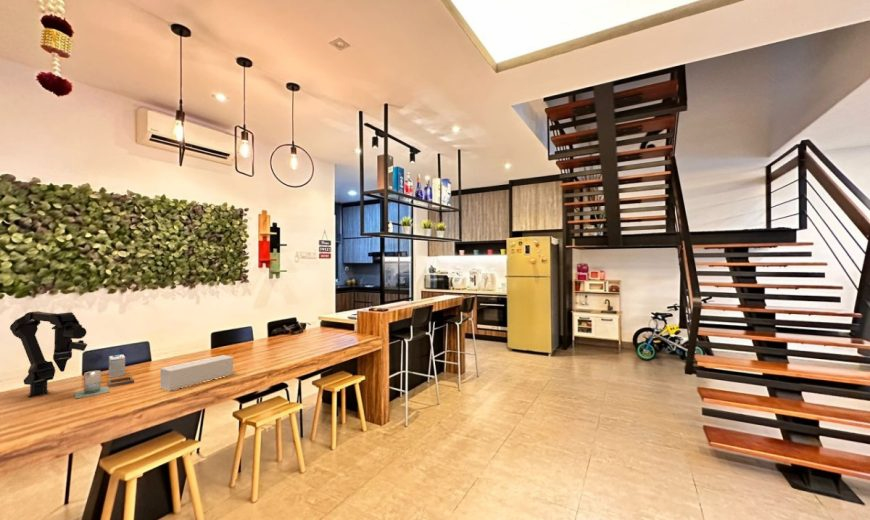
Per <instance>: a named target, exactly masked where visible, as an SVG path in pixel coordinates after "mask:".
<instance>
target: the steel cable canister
mask: <svg viewBox="0 0 870 520" xmlns="http://www.w3.org/2000/svg"><path fill="white" fill-rule="evenodd" d="M101 378H102V371H101V370H89V371H87V372H84V374H83V391H84V394H91V393H96V392H99V391H100V388H101V386H102V385H101V382H102V381H101V380H102V379H101Z"/></svg>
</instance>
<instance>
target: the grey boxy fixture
mask: <svg viewBox="0 0 870 520" xmlns="http://www.w3.org/2000/svg"><path fill="white" fill-rule="evenodd" d="M125 374H126V356H125V355H124V354H123V353H122V354H115V355H110V356H109V355H108V377H109V378H110V379H111V378H116V377H123V376H124V377H125V376H126V375H125Z"/></svg>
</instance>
